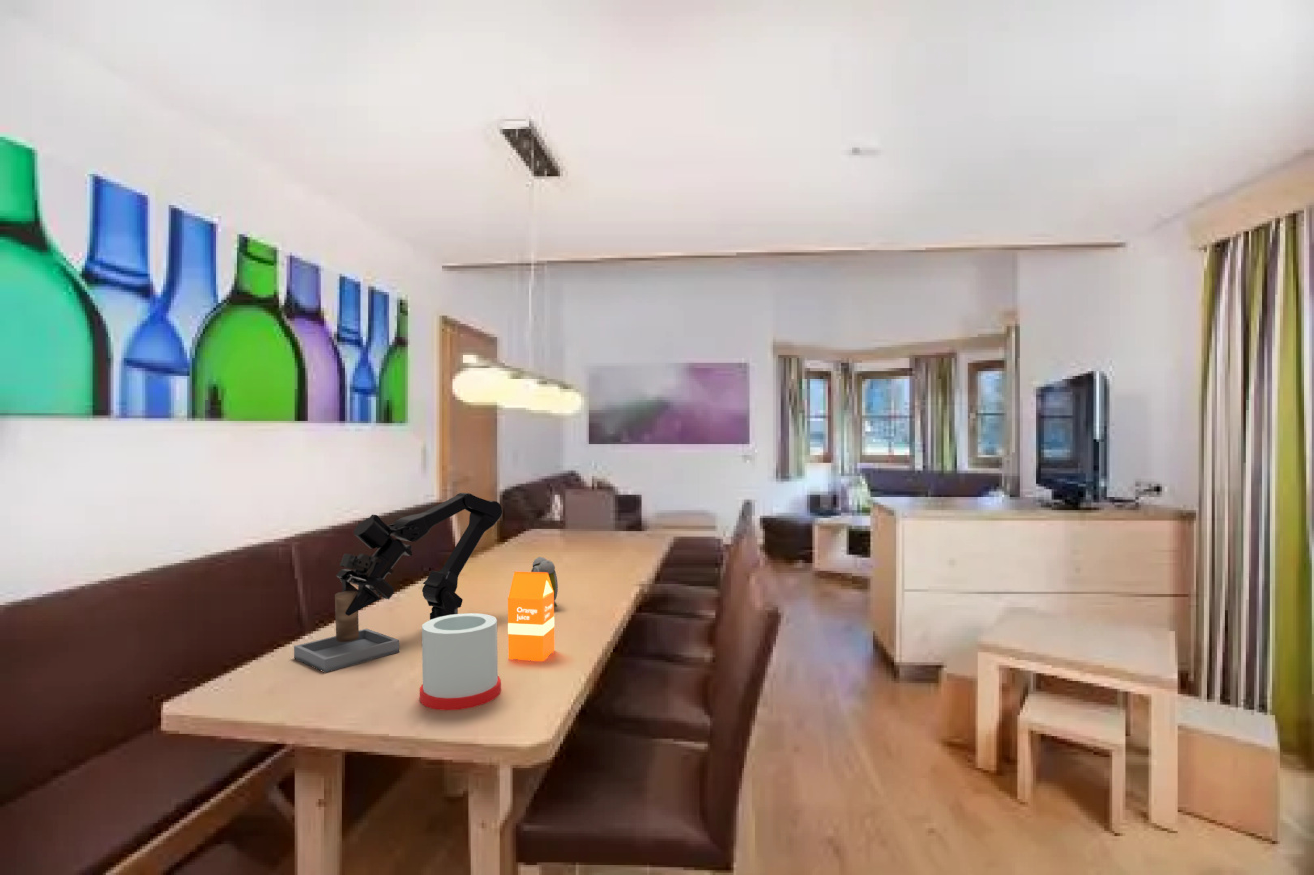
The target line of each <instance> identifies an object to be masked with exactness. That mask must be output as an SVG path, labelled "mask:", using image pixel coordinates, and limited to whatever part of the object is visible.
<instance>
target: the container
mask: <svg viewBox="0 0 1314 875" xmlns="http://www.w3.org/2000/svg"><path fill="white" fill-rule="evenodd" d="M421 648H422V650H421V651H422V653H421V654H422V655H421V656H422V657H421V660H422V661H421V662H422V684H421V686H420V687H419V701H420V703H421V704H422V705H423V706H425V707H427V708H430V709H433V710H439V711H440V710H441V711H455V710H464V709H471V708H474V707H478V706H482V705H485V704H487V703H489V702H491V701H492V700H493V701H494V700H495V699H496V698H497V697H499V695H500V694H501V691H502V679H501V678H500V676H499V675H498V674H499V672H498V670H499V668H498V664H499V663H498V662H499V661H498V620H497V618H496V617H495V616H493V615H490V614H485V613H477V612H476V613H475V612H471V613H470V612H469V613H468V612H467V613H458V614H454V615H447V616H442V617H438V618H435V619H431V620H430V619H429V620H428V621H426V622H424V623H423V624H422V625H421Z"/></svg>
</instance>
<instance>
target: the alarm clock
mask: <svg viewBox="0 0 1314 875" xmlns="http://www.w3.org/2000/svg"><path fill="white" fill-rule="evenodd" d="M530 572H544V573H548V575H549V578H550V582H551V585H552V588H553V591H554V607H557V606H558V605H557V604H558V603H556V599H557V596H558V593H559V592H558V590H559V588H558V587H559V584H558V577H557V576H558V575H557V573H556V567H555V564H554V563H553V561H551V560H548V559H547V558H545V557H541V556H538V557H536V558H535V559H534V560H533V561H532V568H531V571H530Z"/></svg>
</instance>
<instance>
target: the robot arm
mask: <svg viewBox="0 0 1314 875" xmlns="http://www.w3.org/2000/svg"><path fill="white" fill-rule="evenodd" d="M464 510H465V511H467V512H469V518H468V519H469V520H468V525H467V527H466V529H465V530H464V532H463V534H462V535H461V537H460V538H459V540H458V542H457V543H456V545H455V546H454V548H453V550H452V551H451V553H450V555H449V556H448V558H447V559H446V562H445V563H444V565H443V566H442V568H441V569H439V570H437V571H436V570H435V571H434V570H431V571H430V572H429V574H428V576H427V577H426V578H427V579H426V580H425V581H423V583H422V584H423V586H422V591H421V592H422V596H423V599H424V600H426V601H427V604H428V606H429V607H431V612H430V613H429V620H431V619H435V618H438V617H442V616H447V615H454V614H459V610H458V609H459V608H461V607H462V604H463V600H464V599H463V598H462V597H461V596H459V595H458V594H457V593H456V591H457V589H458V583H459V582H458V581H459V575H460V573H461V572H462V570H463V569H464V568H465V566H466V564H467V562H468V560H469V559H470V557H471V555H472V554H473V552H474V550H475V549H476V547H477V545H478V544H479V542H480V540H481V538H482V537H483V535H484V534H485V533H486V532H487V531H488V530H489V529H491V528H492V527H493V526H495V525H496V524H497V522H498V521H499V520H500V519H501V518H502V514H503V508H502V506H501V504H500V503H499V502H498V501H497V500H496V501H495V500H487V499H484V498H481V497H480V496H479V497H478V496H475V495H474V494H473V493H470V492H469V493H468V492H459V493H457V494H456V495H455V496H453V497H451V498H449V499H447V500H445V501H443V502H441V503H439V504H437V505H435V506H433V507H431V508H429V509H428V510H425V511H423V512H420V513H416V514H409V515H407V516H404V517H400V518H398V519H396V521H395V522H394V523H392V524H386V522H384V521H382V519H381V517H380V516H379V515H377V514H371V516H370V517H368V518H366V519H364V520H363V521H362V522H359V523H358V524H357V525H356V527H355V529H354V530H353V535H354V536H355V537H356V538H358V540H360V541H361V543H364V545H366V546H367V547H368V548H369V549H371V550H373V549H377V550H375V552H374V553H373V555H369V554H365V553H359V554H358V555H353V554H349V553H344V554H343V556H342V559H341V561H340V564H339V566H340V567H342V569H340V570H339V571H338V573H337V574H336V575H335V577H337V578H338V579H339V580H340V583H341V586H342V590H341V592H345V591H357V592H358V593H357V595H356V597H355V598H354V600H353V601H352V603H351V604H350V606H349V607H348V609H347V611H346V612H345V614H346V615H348V616H350V615H351V614H353V613H355V612H357V611H358V612H359V610H360V611H361V610H362V609H363V608H365V607H367V606H370V605H371V604H373V603H375V602H377V601H381V599H382V598H383V599H384V600H385V599H386V600H390V599H391V597H392V596H393V595H394V593H395V588H394V586H392V585H391V584H390V583H388V582H387V581H386V580H385V578H386V576H387V575H388V574H389V575H392V574H393V573H394V570H393V567H394V566H395V565H396V564H397V563H398V561H399V560H400V559H401V557H402V556H406V557H407V556H409V557H412V556H413V551H412V545H411V544H405V543H404V541H407V542H410V543H411V542H412V543H413V542H418V541H419V540H420V539H422V538H423V537H424V536H426V535H427V534H428V533H429V532H430V530H431V529H432V528H433V527H435V526H436V525H438V524H440V523H441V522H443V521H445V520H447V519H450V518H451V517H453V516H454V515H456V514H458V513H460V512H462V511H464ZM392 536H393V537H395V538H393V537H392ZM343 568H344V569H343ZM380 596H381V597H380Z"/></svg>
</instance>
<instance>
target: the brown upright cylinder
mask: <svg viewBox="0 0 1314 875" xmlns="http://www.w3.org/2000/svg"><path fill="white" fill-rule="evenodd" d="M357 593H358V592H357V591H345V592H342V591H341V592H337V593H335V594H334V603H335V604H334V607H335V608H334V612H335V636H336V641H338V642H348V641H353V640H356V639H358V638H359V628H360V626H359V610H358V611H357V612H355V613H353V614H351V615H350V616H348V615H346V614H345V612H346V611H347V609H348V607H349V606H350V604H351V603H352V601H353V600H354V598H355V597H356V595H357Z"/></svg>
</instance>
